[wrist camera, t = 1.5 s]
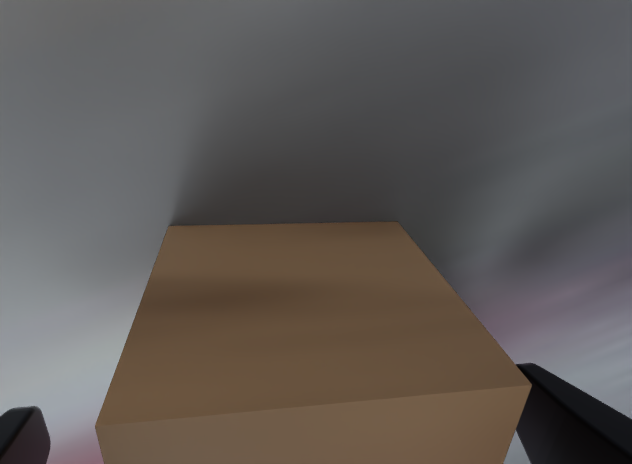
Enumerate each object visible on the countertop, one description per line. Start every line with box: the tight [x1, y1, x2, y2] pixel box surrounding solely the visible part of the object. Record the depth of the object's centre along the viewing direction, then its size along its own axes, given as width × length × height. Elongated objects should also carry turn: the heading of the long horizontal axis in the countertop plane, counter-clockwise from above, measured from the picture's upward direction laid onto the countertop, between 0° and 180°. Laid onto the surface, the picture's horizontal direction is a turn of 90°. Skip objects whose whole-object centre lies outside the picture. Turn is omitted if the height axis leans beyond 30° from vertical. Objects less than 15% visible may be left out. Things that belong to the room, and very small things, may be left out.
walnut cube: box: [95, 221, 532, 464], centre depth 8 cm, size 5×5×5 cm
